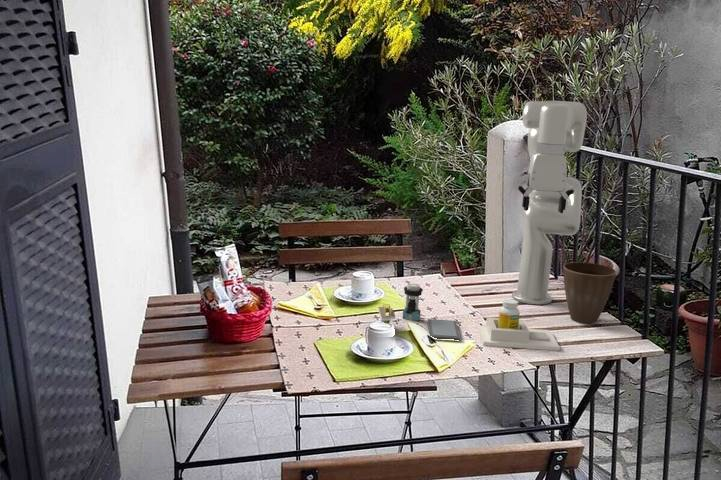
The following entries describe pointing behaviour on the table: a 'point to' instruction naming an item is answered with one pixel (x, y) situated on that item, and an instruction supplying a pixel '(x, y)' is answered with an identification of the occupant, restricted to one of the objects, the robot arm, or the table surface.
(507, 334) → the organizer tray
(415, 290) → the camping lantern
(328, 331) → the table surface
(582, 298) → the plant pot
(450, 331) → the phone
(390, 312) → the platform
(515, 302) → the supplement bottle
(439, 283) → the table surface
